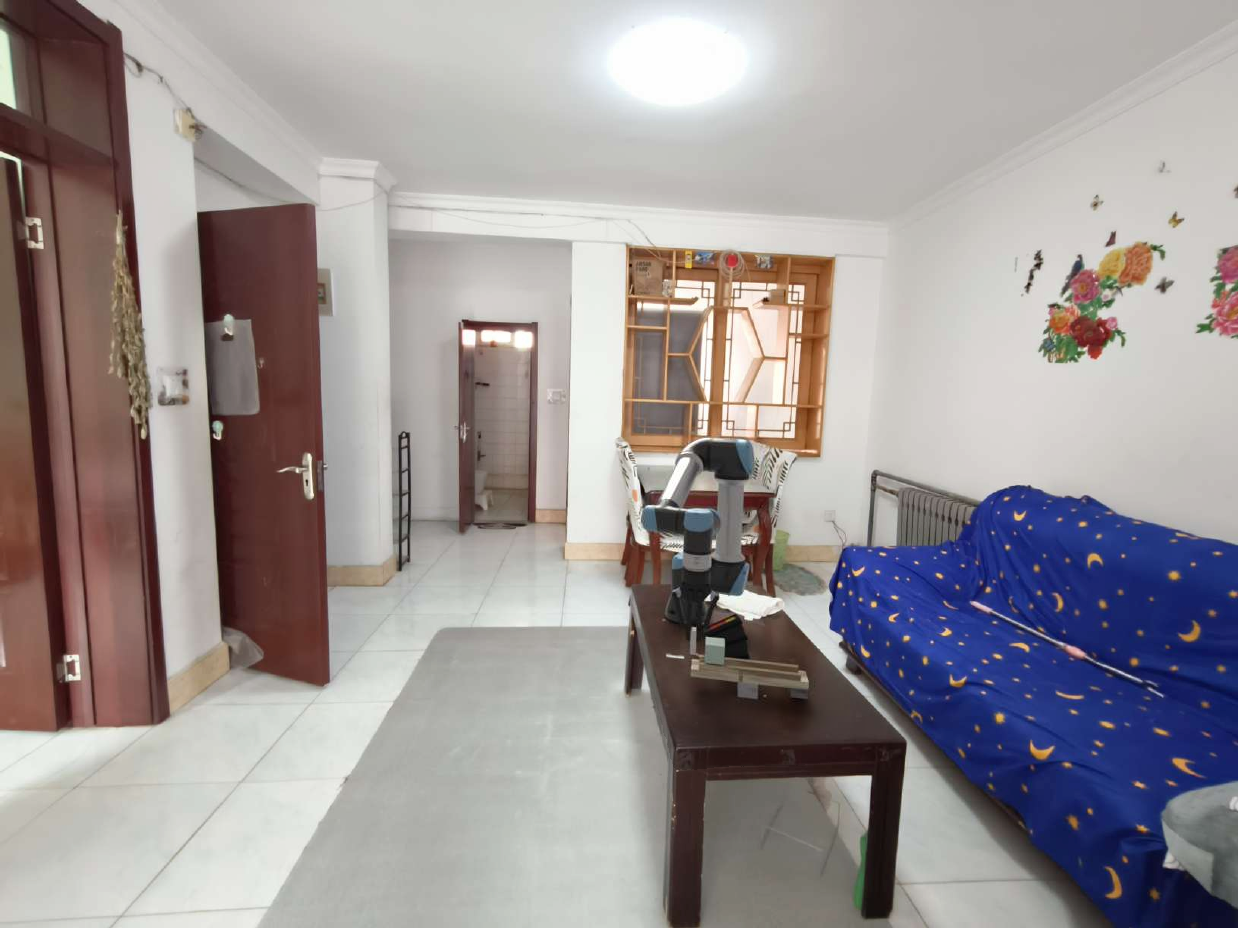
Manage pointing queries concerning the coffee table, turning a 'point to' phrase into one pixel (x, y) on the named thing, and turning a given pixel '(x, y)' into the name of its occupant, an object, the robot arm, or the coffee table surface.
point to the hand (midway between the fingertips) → (692, 652)
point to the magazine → (730, 636)
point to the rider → (714, 650)
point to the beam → (753, 675)
